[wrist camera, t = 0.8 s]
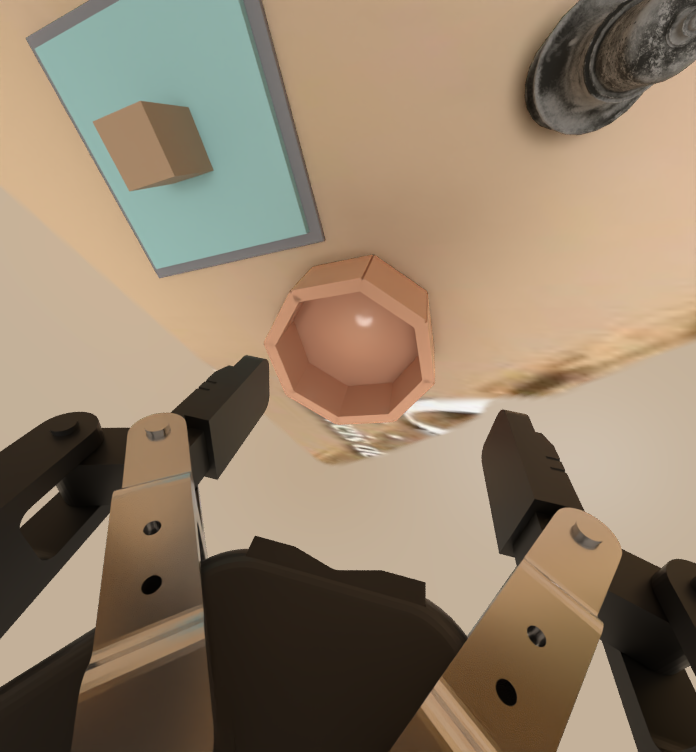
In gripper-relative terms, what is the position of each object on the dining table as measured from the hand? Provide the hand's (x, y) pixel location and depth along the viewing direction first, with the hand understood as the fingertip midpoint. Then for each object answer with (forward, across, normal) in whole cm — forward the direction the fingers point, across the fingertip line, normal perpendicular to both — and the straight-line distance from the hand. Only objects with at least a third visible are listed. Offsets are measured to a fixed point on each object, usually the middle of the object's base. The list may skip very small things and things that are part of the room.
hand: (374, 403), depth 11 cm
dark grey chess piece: (+20, -8, -13) cm, 25 cm away
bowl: (+21, +3, +7) cm, 22 cm away
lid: (+19, +19, -7) cm, 28 cm away
